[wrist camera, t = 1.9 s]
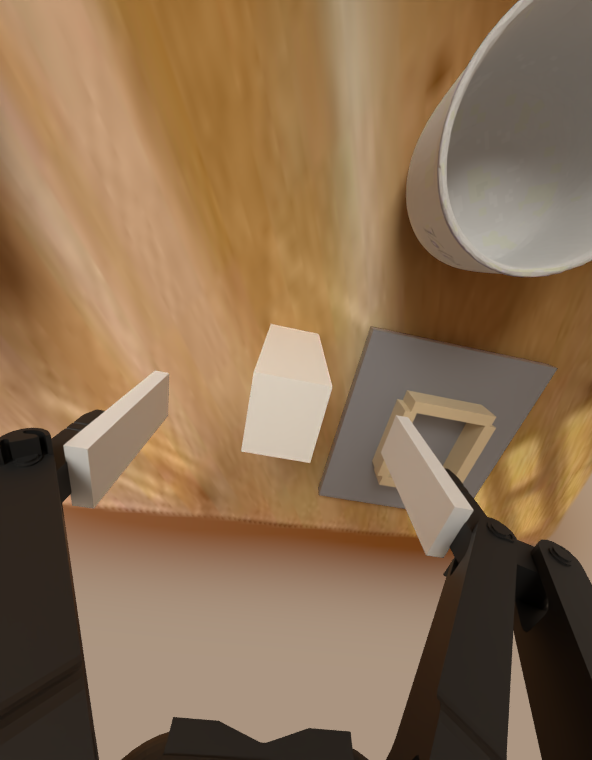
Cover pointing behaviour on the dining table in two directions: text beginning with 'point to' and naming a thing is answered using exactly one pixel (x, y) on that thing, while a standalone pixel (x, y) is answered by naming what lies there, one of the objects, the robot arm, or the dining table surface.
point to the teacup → (512, 149)
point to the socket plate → (428, 411)
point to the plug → (287, 396)
